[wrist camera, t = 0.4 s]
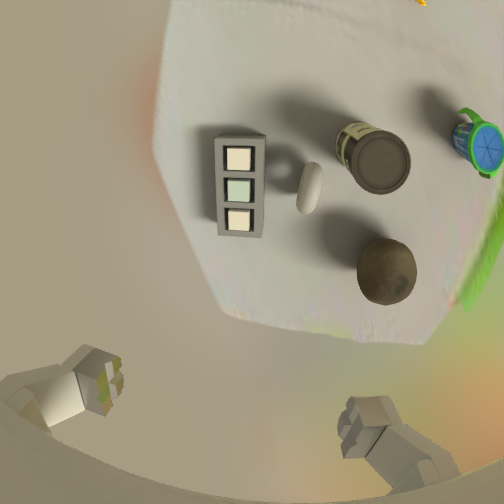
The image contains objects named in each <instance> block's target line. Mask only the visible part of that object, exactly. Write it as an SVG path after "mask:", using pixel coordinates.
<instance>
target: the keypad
mask: <svg viewBox="0 0 504 504" xmlns="http://www.w3.org/2000/svg"><path fill="white" fill-rule="evenodd" d="M214 144H215V179H216V206H217V228H218V235H222V236H238V237H253V238H261V237H262V231H263V220H264V189H265V155H266V136H260V135H219V136H218V137H216V138H215V139H214ZM229 147H251V168H250V170H228V168H227V148H229ZM229 178H244V179H250V200H249V202H242V201H228V180H229ZM230 208H246V209H250V228H249V231H242V230H229V217H228V211H229V209H230Z"/></svg>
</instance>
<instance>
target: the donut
mask: <svg viewBox="0 0 504 504" xmlns="http://www.w3.org/2000/svg"><path fill="white" fill-rule="evenodd" d="M322 179H323V172H322V168H321V166H320V165H319V164H317V163H315V162H310V163H308V164H306V166H305V167H304V169H303V172H302V175H301V179H300V183H299V188H298V194H297V202H296V205H297V209H298V211H299V212H301V213H303V214H308V213H311V212H312V211H313V210H314V209H315V207H316V205H317V202H318V199H319V195H320V191H321V186H322Z"/></svg>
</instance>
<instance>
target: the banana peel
mask: <svg viewBox="0 0 504 504" xmlns="http://www.w3.org/2000/svg"><path fill="white" fill-rule="evenodd" d="M416 1H417V2H418V3H419V4H421V5H424V6H426V4H425V2H424V0H416Z"/></svg>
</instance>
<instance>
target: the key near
mask: <svg viewBox="0 0 504 504" xmlns="http://www.w3.org/2000/svg"><path fill="white" fill-rule="evenodd" d="M227 168H228V170H250V168H251V147H229V148H227Z"/></svg>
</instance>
